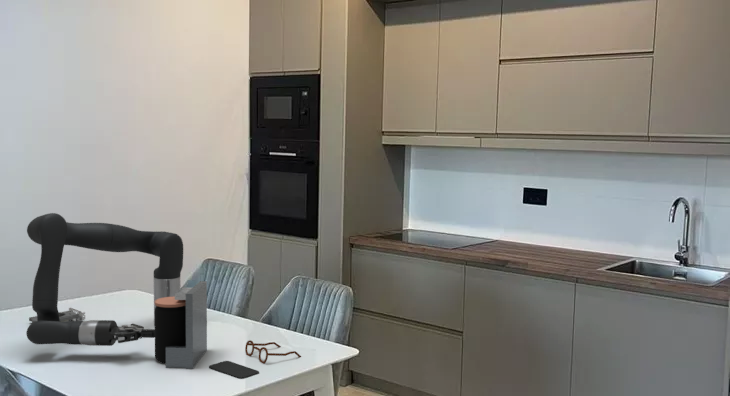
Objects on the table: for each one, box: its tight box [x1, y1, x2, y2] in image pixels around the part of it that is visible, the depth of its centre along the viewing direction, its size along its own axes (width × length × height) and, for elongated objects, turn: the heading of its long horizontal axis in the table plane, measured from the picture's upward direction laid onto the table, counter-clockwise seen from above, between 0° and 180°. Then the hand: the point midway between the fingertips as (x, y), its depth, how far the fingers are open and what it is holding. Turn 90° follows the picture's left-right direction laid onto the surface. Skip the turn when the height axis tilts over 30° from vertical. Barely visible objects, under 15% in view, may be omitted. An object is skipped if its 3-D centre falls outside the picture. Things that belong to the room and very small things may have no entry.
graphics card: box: [28, 307, 86, 324], centre depth 248 cm, size 17×4×12 cm
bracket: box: [165, 280, 208, 370], centre depth 206 cm, size 8×18×22 cm, turn 0°
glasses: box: [244, 339, 302, 364], centre depth 212 cm, size 13×13×5 cm
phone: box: [208, 360, 260, 380], centre depth 198 cm, size 7×1×15 cm
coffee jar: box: [153, 297, 186, 365], centre depth 206 cm, size 11×11×18 cm
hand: (155, 333), depth 207 cm, fingers closed
